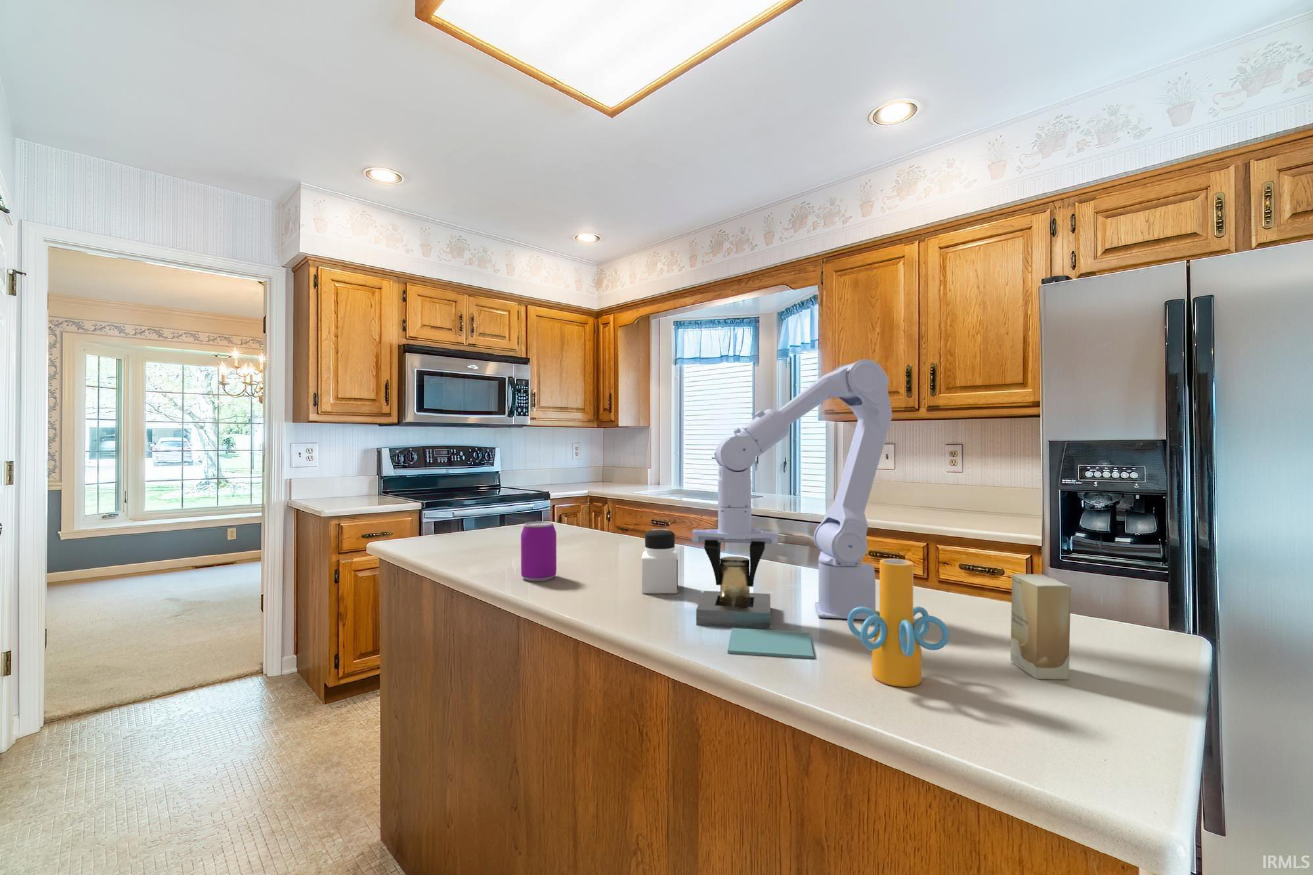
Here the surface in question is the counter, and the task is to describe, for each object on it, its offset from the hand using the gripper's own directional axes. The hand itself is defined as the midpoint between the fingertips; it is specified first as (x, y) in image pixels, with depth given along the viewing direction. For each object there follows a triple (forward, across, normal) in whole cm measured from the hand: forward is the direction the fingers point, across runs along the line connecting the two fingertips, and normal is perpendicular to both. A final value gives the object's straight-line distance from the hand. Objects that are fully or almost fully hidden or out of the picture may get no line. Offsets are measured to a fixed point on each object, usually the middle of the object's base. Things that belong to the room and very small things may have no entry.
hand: (734, 584), depth 104 cm
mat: (+5, -6, +13) cm, 15 cm away
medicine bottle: (+6, +16, -15) cm, 23 cm away
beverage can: (+6, +44, -20) cm, 49 cm away
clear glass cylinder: (+4, 0, 0) cm, 4 cm away
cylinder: (+6, -22, +23) cm, 32 cm away
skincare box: (+6, -41, +17) cm, 45 cm away
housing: (+5, 0, 0) cm, 5 cm away
